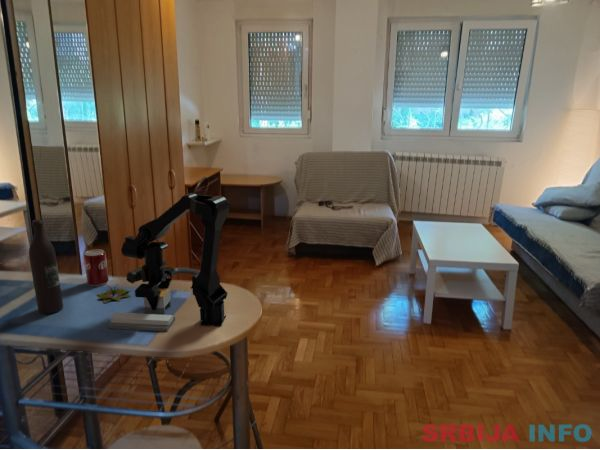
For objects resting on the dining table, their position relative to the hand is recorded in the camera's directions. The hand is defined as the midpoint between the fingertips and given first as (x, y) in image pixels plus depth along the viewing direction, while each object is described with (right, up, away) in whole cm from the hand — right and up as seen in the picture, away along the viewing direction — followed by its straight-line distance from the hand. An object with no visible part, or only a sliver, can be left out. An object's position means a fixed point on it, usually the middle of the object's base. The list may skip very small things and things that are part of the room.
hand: (158, 305), depth 142 cm
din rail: (-2, -4, -9) cm, 10 cm away
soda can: (-29, +5, +20) cm, 35 cm away
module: (0, -1, 0) cm, 1 cm away
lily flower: (-18, +1, +9) cm, 21 cm away
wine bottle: (-34, -1, -1) cm, 34 cm away
